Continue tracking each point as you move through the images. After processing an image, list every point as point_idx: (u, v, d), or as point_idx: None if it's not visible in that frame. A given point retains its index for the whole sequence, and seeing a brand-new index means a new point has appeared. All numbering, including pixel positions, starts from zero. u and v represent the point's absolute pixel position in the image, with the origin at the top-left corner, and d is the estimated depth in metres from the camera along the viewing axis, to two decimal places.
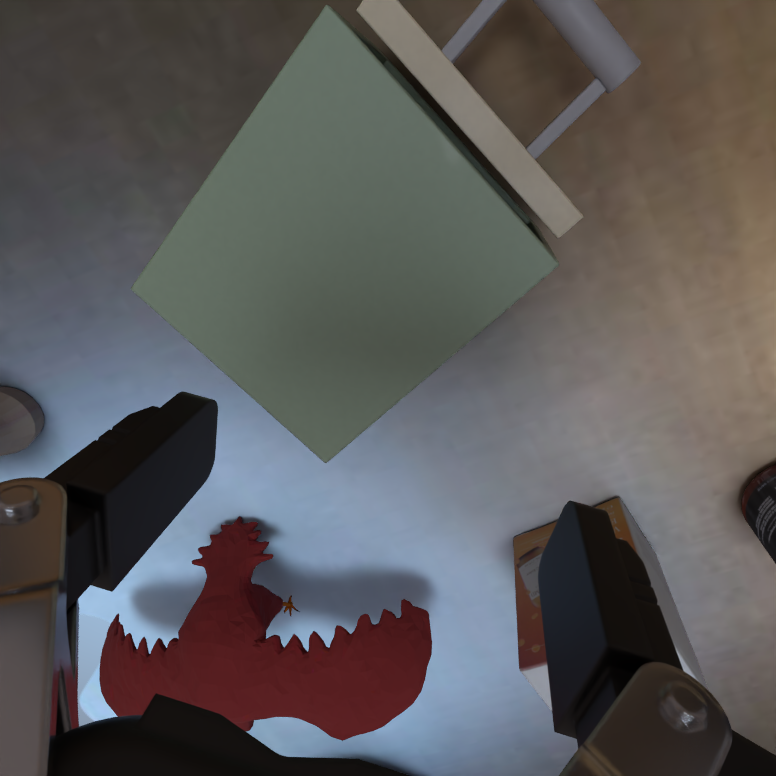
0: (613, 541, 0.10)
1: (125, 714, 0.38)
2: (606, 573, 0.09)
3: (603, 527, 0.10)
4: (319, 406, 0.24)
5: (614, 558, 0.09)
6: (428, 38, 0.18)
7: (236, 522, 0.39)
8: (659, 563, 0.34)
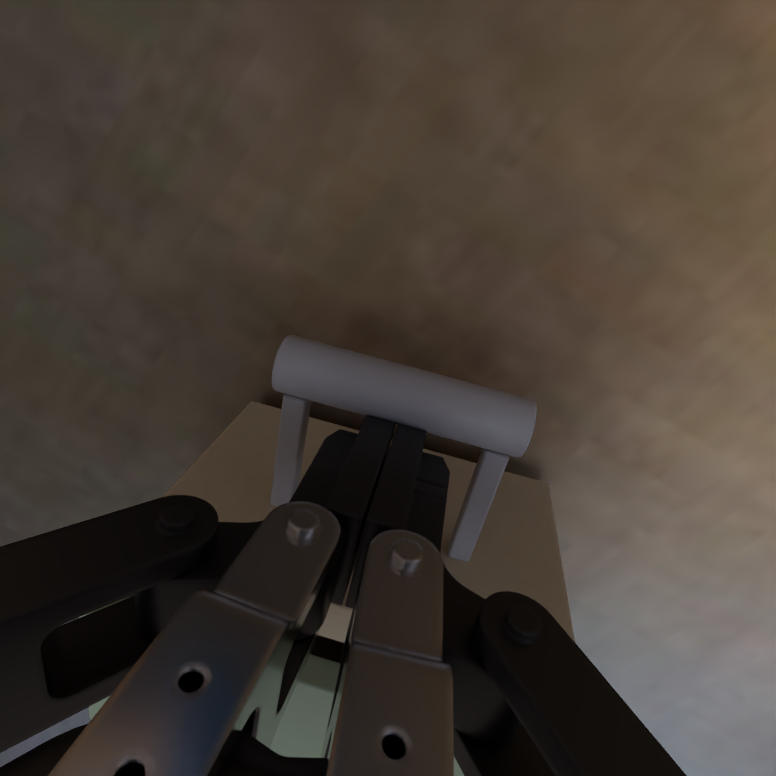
0: (421, 453, 0.11)
1: None
2: (396, 472, 0.10)
3: (415, 442, 0.11)
4: None
5: (411, 463, 0.10)
6: None
7: None
8: None
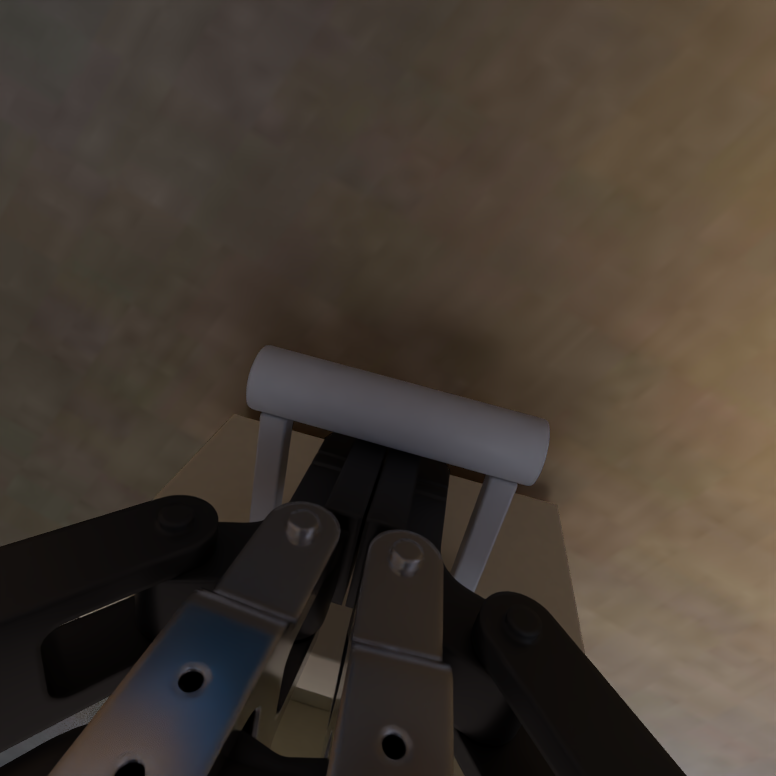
0: None
1: None
2: (397, 472, 0.10)
3: None
4: None
5: (411, 463, 0.10)
6: None
7: None
8: None
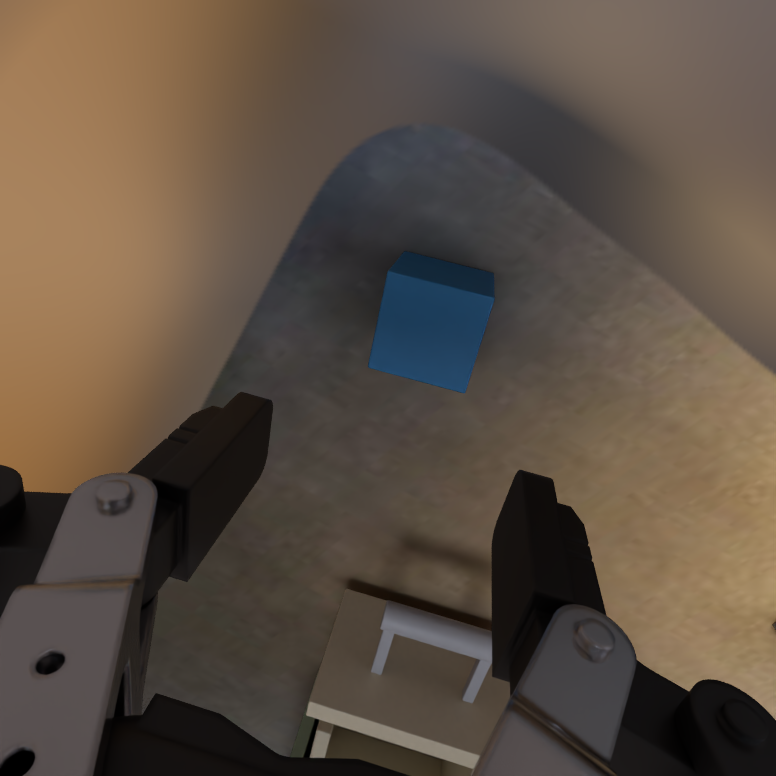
0: (554, 504, 0.10)
1: None
2: (542, 531, 0.09)
3: (546, 492, 0.10)
4: None
5: (552, 518, 0.10)
6: (356, 718, 0.25)
7: None
8: None
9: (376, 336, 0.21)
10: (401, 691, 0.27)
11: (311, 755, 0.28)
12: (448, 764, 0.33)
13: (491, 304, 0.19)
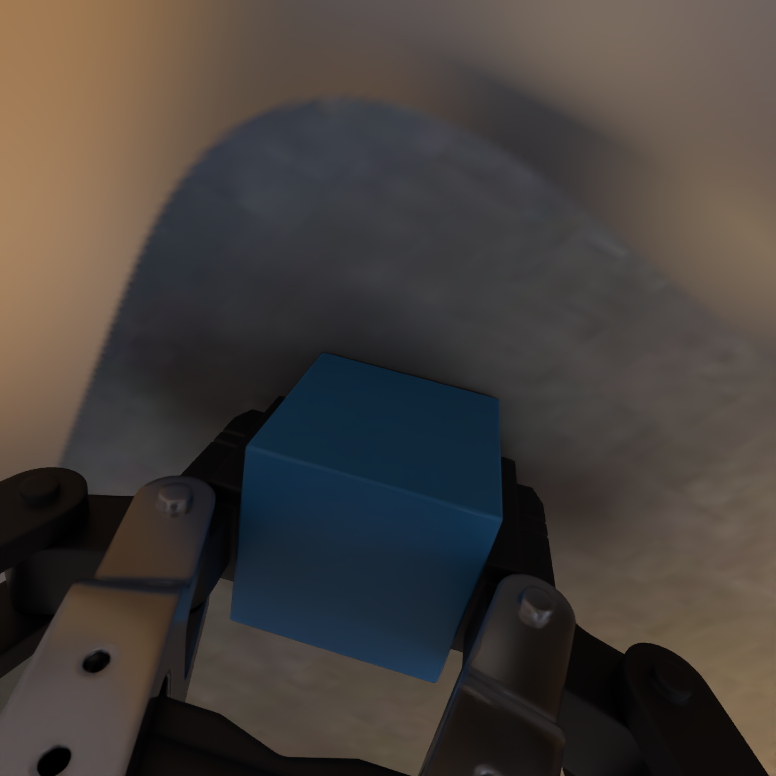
0: (514, 484, 0.11)
1: None
2: None
3: (507, 473, 0.11)
4: None
5: (509, 497, 0.10)
6: None
7: None
8: None
9: (238, 569, 0.09)
10: None
11: None
12: None
13: (495, 531, 0.08)
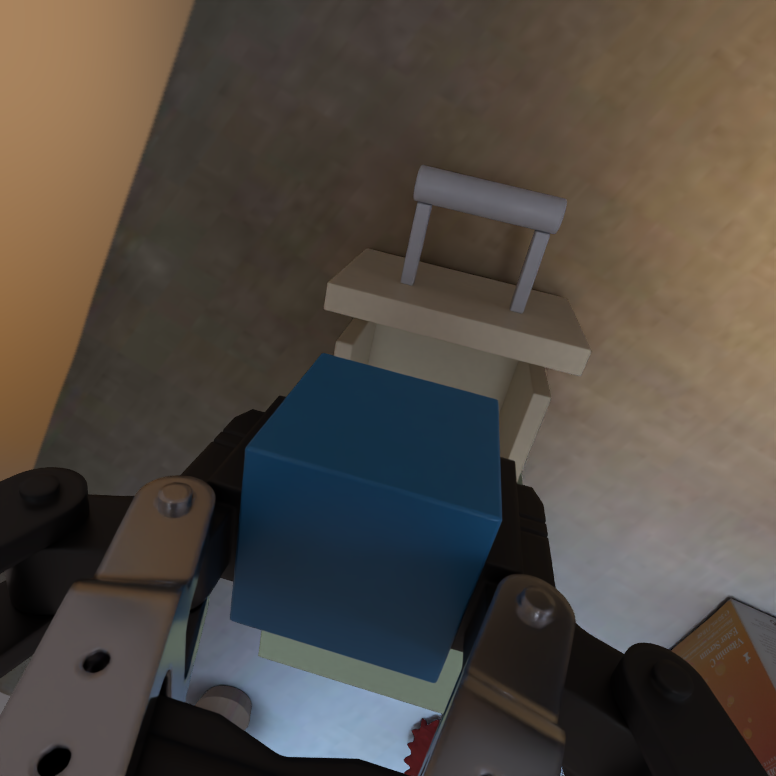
0: (515, 484, 0.11)
1: None
2: None
3: (507, 473, 0.11)
4: (421, 683, 0.29)
5: (510, 497, 0.10)
6: (385, 299, 0.21)
7: (422, 726, 0.45)
8: None
9: (238, 570, 0.09)
10: (437, 296, 0.22)
11: None
12: None
13: (494, 532, 0.08)
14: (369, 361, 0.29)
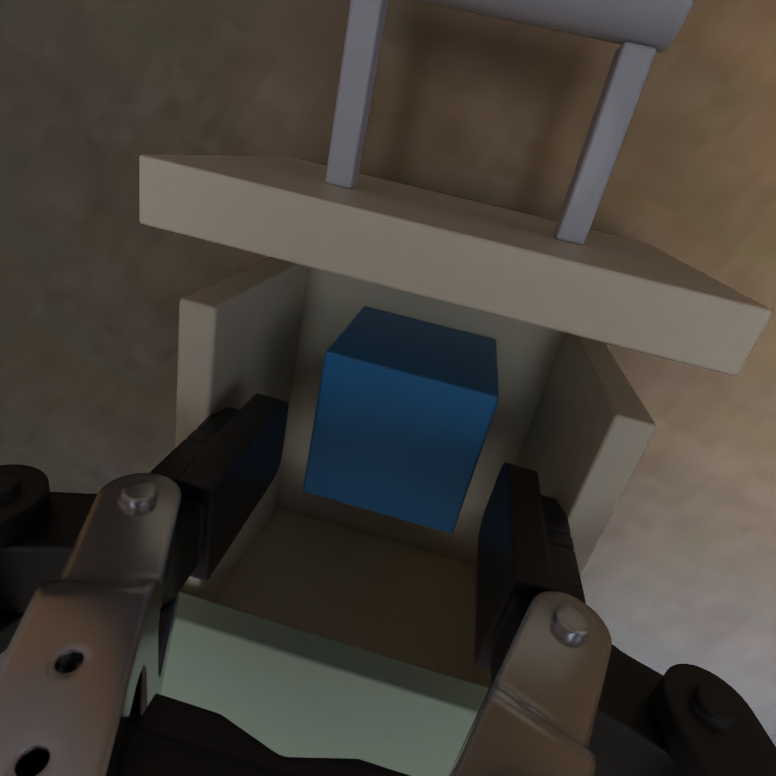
0: (538, 496, 0.10)
1: None
2: (524, 521, 0.09)
3: (530, 484, 0.11)
4: None
5: (535, 509, 0.10)
6: (272, 190, 0.09)
7: None
8: None
9: (313, 448, 0.13)
10: (401, 204, 0.10)
11: (178, 403, 0.11)
12: None
13: (493, 407, 0.12)
14: (297, 358, 0.17)
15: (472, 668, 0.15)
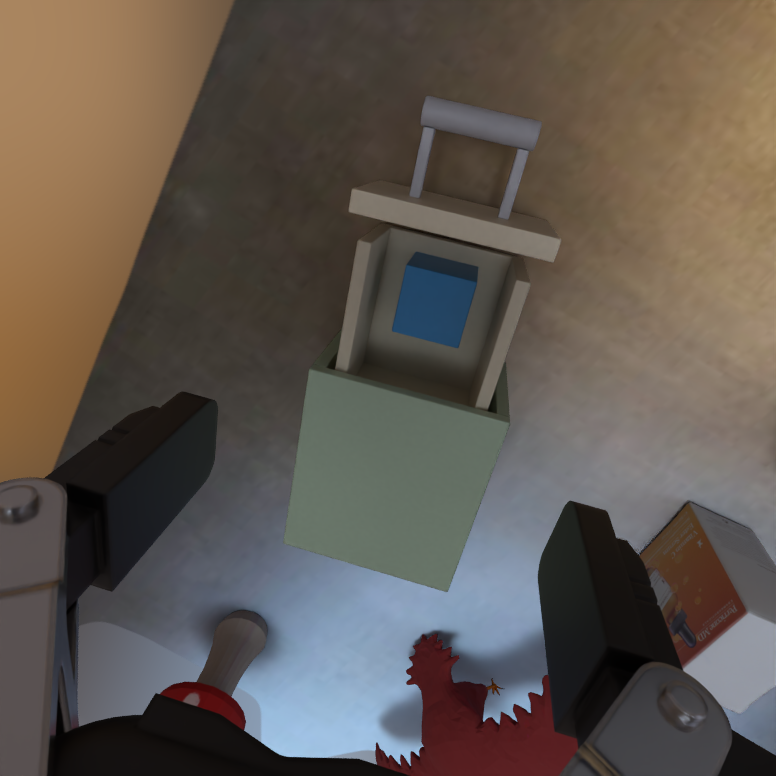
0: (613, 541, 0.10)
1: None
2: (606, 573, 0.09)
3: (603, 527, 0.10)
4: (422, 560, 0.35)
5: (614, 558, 0.09)
6: (398, 200, 0.26)
7: (422, 640, 0.50)
8: (757, 538, 0.38)
9: (398, 309, 0.30)
10: (439, 204, 0.27)
11: (351, 282, 0.28)
12: (478, 371, 0.34)
13: (475, 286, 0.29)
14: (381, 278, 0.34)
15: None
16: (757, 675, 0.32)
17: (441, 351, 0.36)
